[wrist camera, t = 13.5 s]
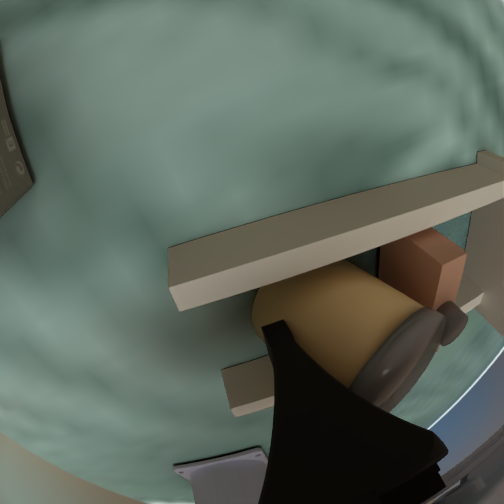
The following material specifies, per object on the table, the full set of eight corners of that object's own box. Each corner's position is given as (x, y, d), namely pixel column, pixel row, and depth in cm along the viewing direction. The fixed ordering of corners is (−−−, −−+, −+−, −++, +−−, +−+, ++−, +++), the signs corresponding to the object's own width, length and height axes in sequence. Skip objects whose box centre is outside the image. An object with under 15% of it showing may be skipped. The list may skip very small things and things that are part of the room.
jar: (342, 309, 16) (428, 372, 11) (262, 362, 14) (343, 451, 9) (339, 225, 13) (458, 286, 8) (236, 281, 11) (353, 391, 6)
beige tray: (463, 285, 18) (516, 335, 13) (229, 386, 16) (255, 481, 11) (485, 150, 12) (568, 189, 7) (161, 232, 10) (160, 363, 5)
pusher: (396, 304, 16) (449, 364, 11) (374, 314, 15) (425, 379, 11) (406, 210, 12) (486, 265, 8) (380, 219, 12) (459, 281, 8)
